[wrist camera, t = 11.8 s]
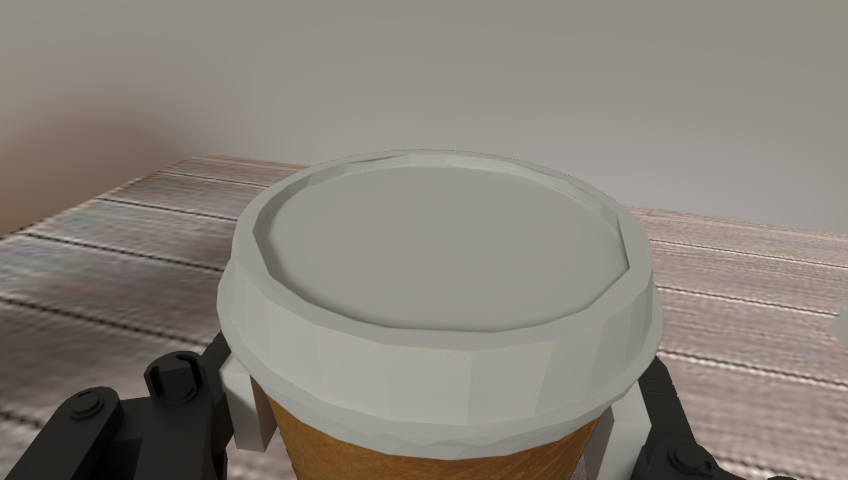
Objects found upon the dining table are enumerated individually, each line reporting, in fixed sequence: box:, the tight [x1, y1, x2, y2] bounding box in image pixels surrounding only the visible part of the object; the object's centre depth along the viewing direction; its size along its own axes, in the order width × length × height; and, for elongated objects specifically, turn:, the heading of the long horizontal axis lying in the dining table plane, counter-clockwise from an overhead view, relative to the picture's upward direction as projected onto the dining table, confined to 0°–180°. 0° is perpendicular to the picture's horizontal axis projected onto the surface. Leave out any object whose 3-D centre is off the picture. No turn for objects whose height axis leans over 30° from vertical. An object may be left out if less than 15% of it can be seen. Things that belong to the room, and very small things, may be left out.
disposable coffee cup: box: [217, 149, 664, 480], centre depth 14 cm, size 10×10×12 cm
